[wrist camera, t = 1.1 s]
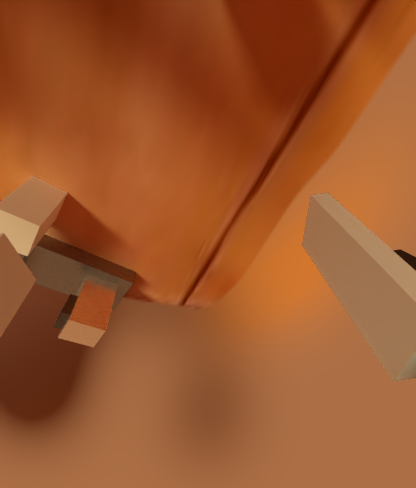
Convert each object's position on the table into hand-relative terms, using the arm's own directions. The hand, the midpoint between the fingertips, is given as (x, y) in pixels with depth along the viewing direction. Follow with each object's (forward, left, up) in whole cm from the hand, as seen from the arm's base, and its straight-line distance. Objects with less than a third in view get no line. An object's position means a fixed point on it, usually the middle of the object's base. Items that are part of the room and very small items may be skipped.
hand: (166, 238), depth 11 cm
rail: (-6, -25, -21) cm, 33 cm away
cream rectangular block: (-9, -16, -22) cm, 28 cm away
